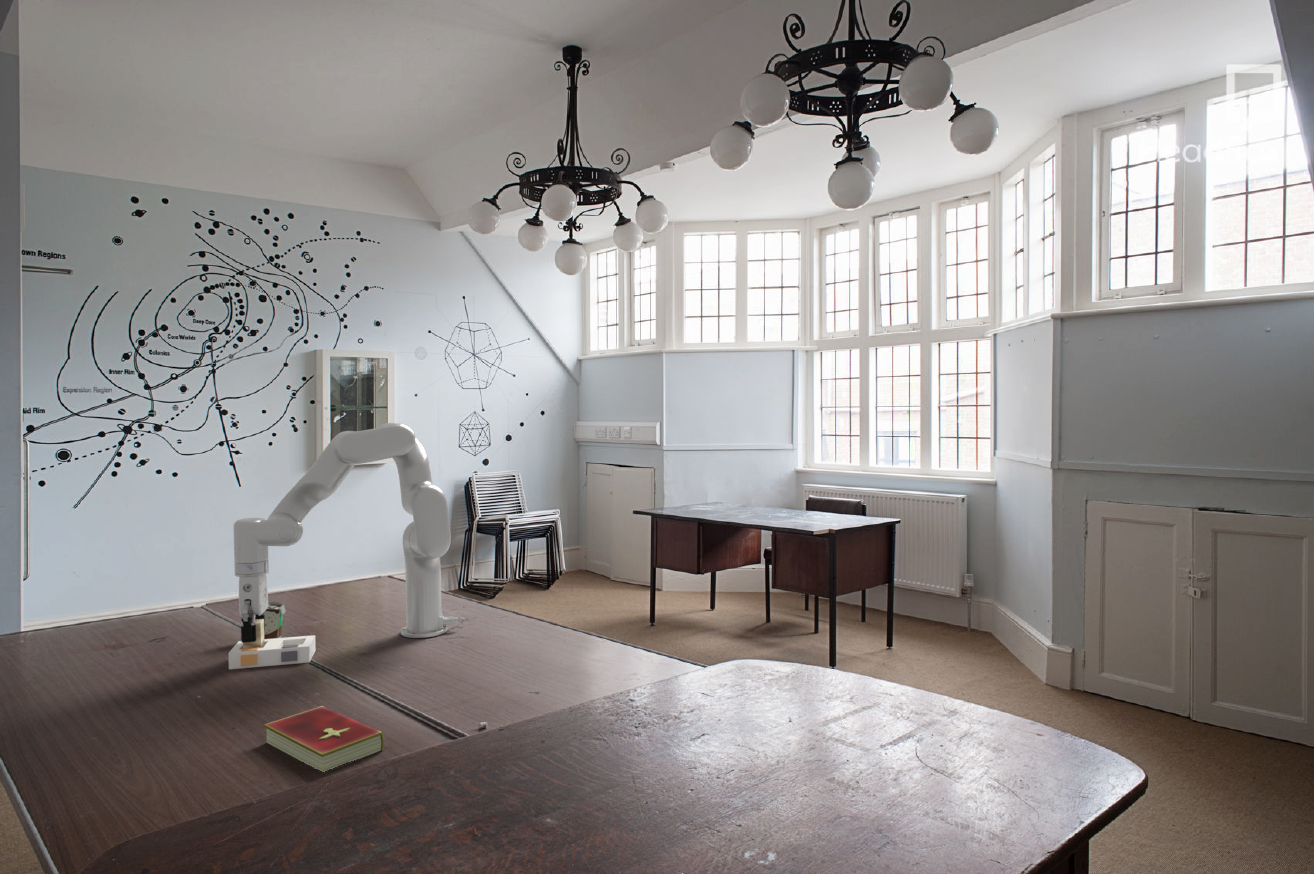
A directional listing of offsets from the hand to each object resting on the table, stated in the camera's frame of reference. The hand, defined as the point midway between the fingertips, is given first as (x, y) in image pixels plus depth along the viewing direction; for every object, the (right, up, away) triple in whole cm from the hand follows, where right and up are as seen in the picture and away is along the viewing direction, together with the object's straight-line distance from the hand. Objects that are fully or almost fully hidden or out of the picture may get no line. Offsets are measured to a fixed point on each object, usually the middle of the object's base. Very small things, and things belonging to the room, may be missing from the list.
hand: (253, 636), depth 194 cm
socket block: (+4, -6, +1) cm, 8 cm away
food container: (-6, -6, +18) cm, 20 cm away
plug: (0, -6, 0) cm, 6 cm away
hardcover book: (+39, -8, -50) cm, 64 cm away
